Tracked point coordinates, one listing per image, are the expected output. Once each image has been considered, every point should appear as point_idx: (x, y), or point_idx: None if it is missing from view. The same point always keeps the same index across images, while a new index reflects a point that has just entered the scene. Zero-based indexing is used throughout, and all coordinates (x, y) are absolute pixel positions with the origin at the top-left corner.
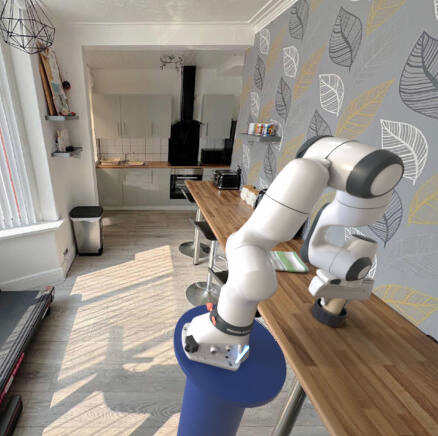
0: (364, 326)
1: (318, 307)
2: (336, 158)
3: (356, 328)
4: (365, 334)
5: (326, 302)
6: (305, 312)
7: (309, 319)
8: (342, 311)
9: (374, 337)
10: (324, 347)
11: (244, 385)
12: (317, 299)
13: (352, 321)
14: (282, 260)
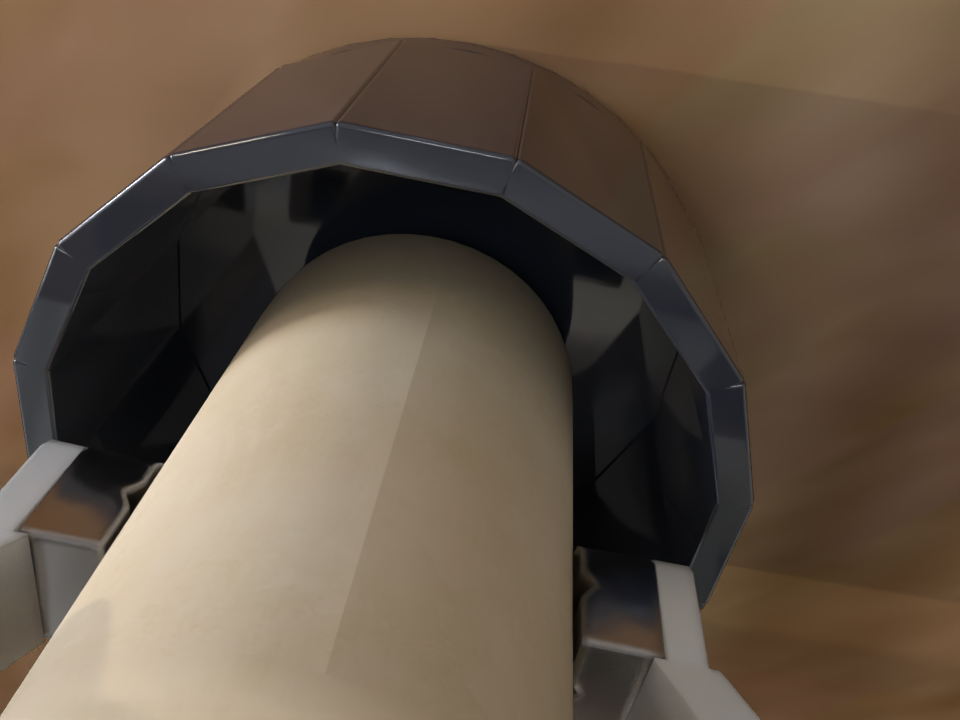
0: (929, 568)
1: (38, 428)
2: None
3: (734, 572)
4: (753, 655)
5: (59, 624)
6: (34, 167)
7: None
8: (677, 489)
9: (830, 701)
10: (12, 679)
11: None
12: (154, 201)
13: (837, 468)
14: None
